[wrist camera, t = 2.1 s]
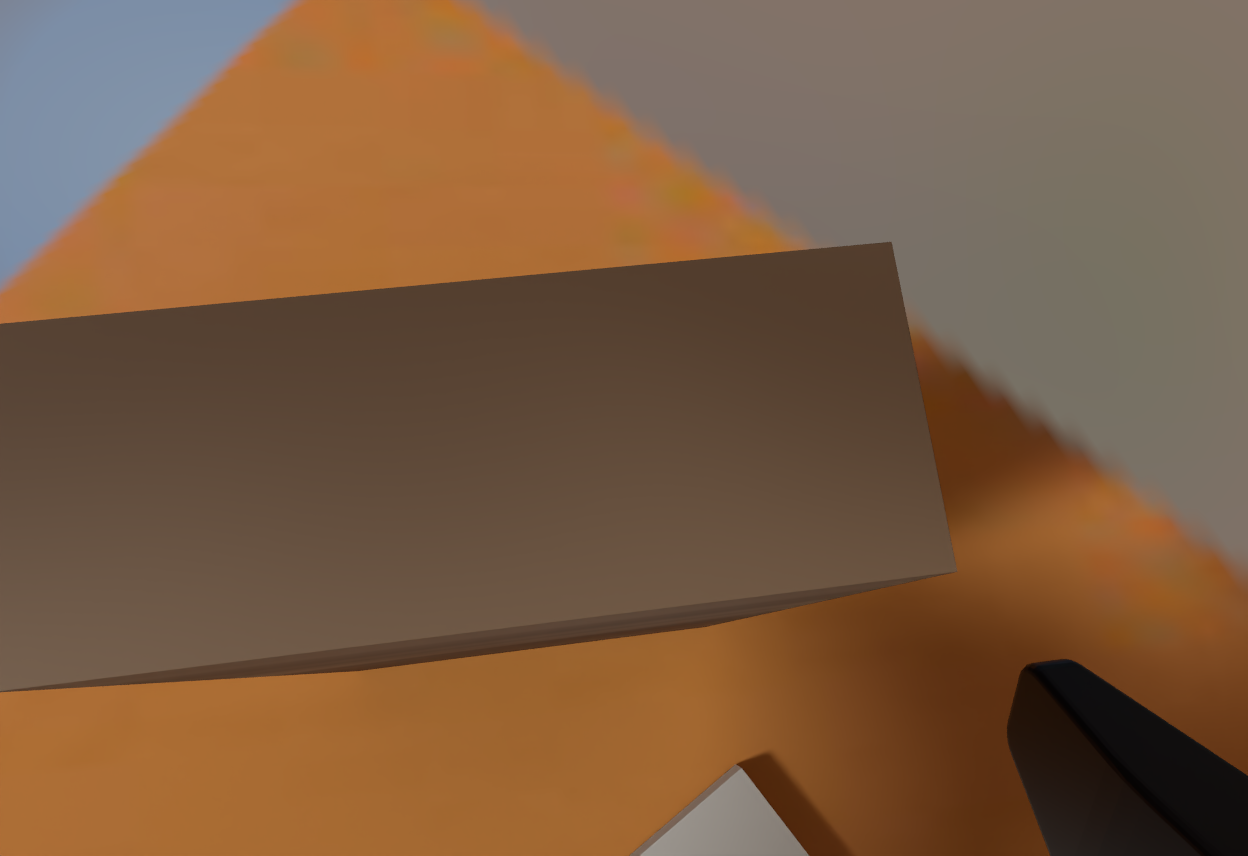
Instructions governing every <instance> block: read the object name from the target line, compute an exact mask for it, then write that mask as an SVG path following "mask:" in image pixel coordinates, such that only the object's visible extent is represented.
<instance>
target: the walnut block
mask: <svg viewBox="0 0 1248 856" xmlns="http://www.w3.org/2000/svg"><path fill="white" fill-rule="evenodd" d="M953 572H957V568H956V563H955V558H954V553H953V548H952V543H951V538H950V533H949V528H948V523H947V518H946V513H945V508H944V503H943V498H942V493H941V488H940V483H939V478H938V473H937V468H936V463H935V458H934V453H933V448H932V443H931V438H930V433H929V427H928V422H927V417H926V412H925V407H924V402H923V397H922V392H921V387H920V382H919V377H918V372H917V367H916V362H915V357H914V352H913V347H912V342H911V337H910V332H909V327H908V322H907V317H906V312H905V307H904V302H903V297H902V292H901V287H900V282H899V277H898V272H897V267H896V262H895V258H894V253H893V247H892V243H891V242H886V243H875V244H864V245H853V246H842V247H831V248H820V249H809V250H798V251H788V252H777V253H766V254H755V255H744V256H733V257H722V258H711V259H701V260H690V261H679V262H668V263H657V264H646V265H635V266H624V267H614V268H603V269H592V270H581V271H570V272H559V273H548V274H537V275H527V276H516V277H505V278H494V279H483V280H472V281H461V282H450V283H440V284H429V285H418V286H407V287H396V288H385V289H374V290H364V291H353V292H342V293H331V294H320V295H309V296H298V297H287V298H277V299H266V300H255V301H244V302H233V303H222V304H211V305H200V306H190V307H179V308H168V309H157V310H146V311H135V312H124V313H113V314H103V315H92V316H81V317H70V318H59V319H48V320H37V321H27V322H16V323H5V324H0V692H11V691H28V690H45V689H62V688H79V687H96V686H113V685H129V684H146V683H163V682H180V681H197V680H214V679H231V678H247V677H264V676H281V675H298V674H315V673H332V672H349V671H361V670H369V669H377V668H385V667H393V666H401V665H409V664H416V663H424V662H432V661H440V660H448V659H456V658H464V657H471V656H479V655H487V654H495V653H503V652H511V651H519V650H526V649H534V648H542V647H550V646H558V645H566V644H574V643H581V642H589V641H597V640H605V639H613V638H621V637H629V636H636V635H644V634H652V633H660V632H668V631H676V630H684V629H692V628H699V627H707V626H711V625H716V624H720V623H725V622H730V621H734V620H739V619H743V618H748V617H752V616H757V615H761V614H766V613H771V612H775V611H780V610H784V609H789V608H793V607H798V606H803V605H807V604H812V603H816V602H821V601H825V600H830V599H834V598H839V597H844V596H848V595H853V594H857V593H862V592H866V591H871V590H875V589H880V588H885V587H889V586H894V585H898V584H903V583H907V582H912V581H917V580H921V579H926V578H930V577H935V576H939V575H944V574H948V573H953Z"/></svg>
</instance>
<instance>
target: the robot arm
mask: <svg viewBox="0 0 1248 856" xmlns="http://www.w3.org/2000/svg"><path fill="white" fill-rule="evenodd" d="M1007 738H1008V744H1009V748H1010V751H1011V754H1012V757H1013V760H1014V762H1015V765H1016V767H1017V770H1018V773H1019V775H1020V778H1021V780H1022V783H1023V786H1024V788H1025V791H1026V793H1027V796H1028V799H1029V801H1030V804H1031V806H1032V809H1033V812H1034V814H1035V817H1036V819H1037V822H1038V825H1039V827H1040V830H1041V832H1042V835H1043V838H1044V840H1045V843H1046V845H1047V848H1048V851H1049V853H1050V856H1248V776H1247V775H1246V774H1244V773H1243V772H1241V771H1240V770H1238V769H1237V768H1235V767H1234V766H1232V765H1231V764H1229V763H1228V762H1226V761H1225V760H1223V759H1222V758H1220V757H1219V756H1217V755H1216V754H1214V753H1213V752H1211V751H1210V750H1208V749H1207V748H1205V747H1204V746H1202V745H1201V744H1199V743H1198V742H1196V741H1195V740H1193V739H1192V738H1190V737H1189V736H1187V735H1186V734H1184V733H1183V732H1181V731H1180V730H1178V729H1177V728H1175V727H1174V726H1172V725H1171V724H1169V723H1168V722H1166V721H1165V720H1163V719H1162V718H1160V717H1159V716H1157V715H1156V714H1154V713H1153V712H1151V711H1150V710H1148V709H1147V708H1145V707H1144V706H1142V705H1141V704H1139V703H1138V702H1136V701H1135V700H1133V699H1132V698H1130V697H1129V696H1127V695H1126V694H1124V693H1123V692H1121V691H1120V690H1118V689H1117V688H1115V687H1114V686H1112V685H1111V684H1109V683H1108V682H1106V681H1105V680H1103V679H1102V678H1100V677H1099V676H1097V675H1096V674H1094V673H1093V672H1091V671H1090V670H1088V669H1087V668H1085V667H1084V666H1082V665H1080V664H1079V663H1077V662H1074V661H1072V660H1068V659H1059V660H1051V661H1044V662H1037V663H1031V664H1028V665H1026V666H1025V667H1024V669H1023V670H1022V671H1021V673H1020V676H1019V680H1018V684H1017V688H1016V692H1015V696H1014V699H1013V703H1012V707H1011V711H1010V715H1009V719H1008V724H1007Z"/></svg>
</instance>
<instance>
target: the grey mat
mask: <svg viewBox="0 0 1248 856" xmlns="http://www.w3.org/2000/svg"><path fill="white" fill-rule="evenodd" d="M629 856H809V855H808V854H807V852H806V851H805V850H804V848H803V847H802V846H801V845H800V843H799V842H798V841H797V839H796V838H795V837H794V835H793V834H792V833H791V832H790V830H789V829H788V828H787V826H786V825H785V824H784V822H783V821H782V820H781V819H780V817H779V816H778V815H777V813H776V812H775V811H774V809H773V808H772V807H771V806H770V804H769V803H768V802H767V800H766V799H765V798H764V796H763V795H762V794H761V793H760V791H759V790H758V789H757V787H756V786H755V785H754V783H753V782H752V781H751V780H750V778H749V777H748V776H747V774H746V773H745V772H744V770H743V769H742V768H741V767H739V766H738V765H736V764H735V765H734V766H733V767H732V768H731V769H730V770H728V771H727V772H726V773H725V774H724V775H723V776H721V777H720V778H719V779H718V780H717V781H716V782H714V783H713V784H712V785H711V786H710V787H709V788H707V789H706V790H705V791H704V792H703V793H702V794H700V795H699V796H698V797H697V798H696V799H695V800H693V801H692V802H691V803H690V804H689V805H688V806H686V807H685V808H684V809H683V810H682V811H681V812H680V813H678V814H677V815H676V816H675V817H674V818H673V819H671V820H670V821H669V822H668V823H667V824H666V825H664V826H663V827H662V828H661V829H660V830H659V831H657V832H656V833H655V834H654V835H653V836H652V837H650V838H649V839H648V840H647V841H646V842H645V843H643V844H642V845H641V846H640V847H639V848H638V849H636V850H635V851H634V852H633V853H632V854H631V855H629Z"/></svg>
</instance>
